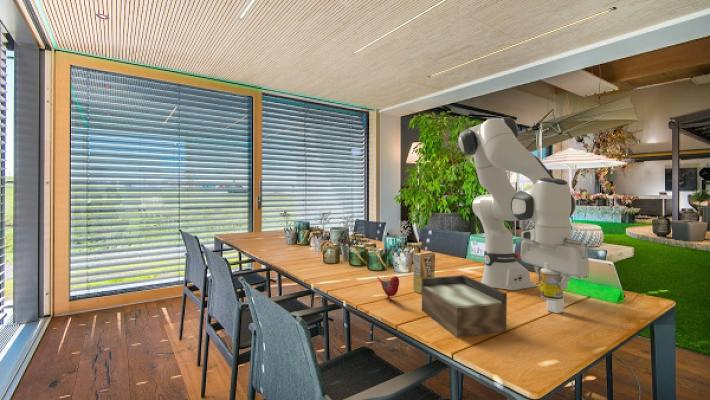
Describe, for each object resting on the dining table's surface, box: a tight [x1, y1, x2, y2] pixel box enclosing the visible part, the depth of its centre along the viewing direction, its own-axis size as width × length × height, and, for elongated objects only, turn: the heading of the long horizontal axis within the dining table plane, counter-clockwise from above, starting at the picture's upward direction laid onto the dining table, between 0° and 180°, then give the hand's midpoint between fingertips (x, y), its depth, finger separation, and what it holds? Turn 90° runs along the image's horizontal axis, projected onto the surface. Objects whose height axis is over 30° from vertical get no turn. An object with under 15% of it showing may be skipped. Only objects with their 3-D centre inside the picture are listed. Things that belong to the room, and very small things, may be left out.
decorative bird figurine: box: [377, 275, 400, 302], centre depth 128 cm, size 3×18×10 cm, turn 22°
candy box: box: [412, 251, 436, 294], centre depth 139 cm, size 9×4×15 cm, turn 129°
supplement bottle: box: [540, 262, 564, 301], centre depth 96 cm, size 6×6×10 cm
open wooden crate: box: [421, 274, 508, 338], centre depth 107 cm, size 16×22×11 cm
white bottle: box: [546, 293, 565, 314], centre depth 115 cm, size 4×4×10 cm
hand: (551, 285), depth 96 cm, fingers closed on supplement bottle, 6 cm apart
